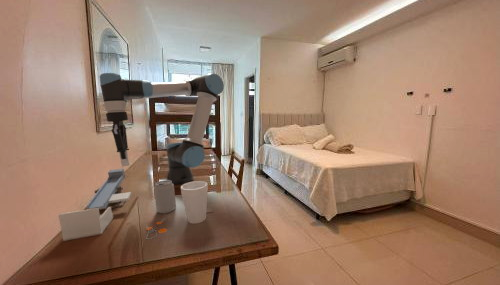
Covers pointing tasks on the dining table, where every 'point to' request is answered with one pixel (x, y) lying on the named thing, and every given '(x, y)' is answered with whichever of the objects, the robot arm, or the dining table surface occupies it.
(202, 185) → the foam cup
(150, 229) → the key chain
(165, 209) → the can
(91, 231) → the white rectangular box
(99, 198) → the lever
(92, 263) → the dining table surface
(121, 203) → the fulcrum
